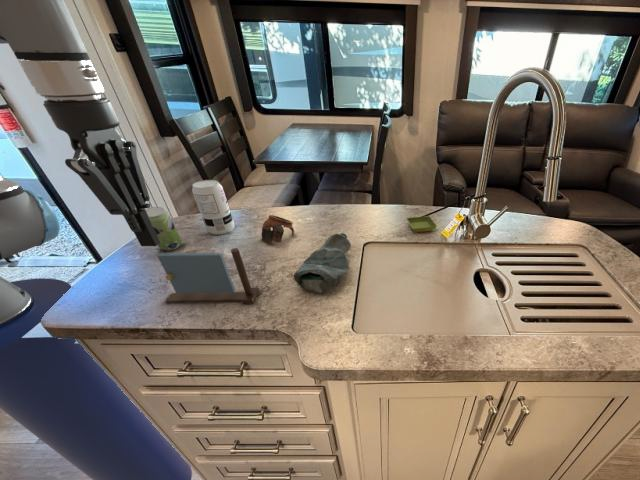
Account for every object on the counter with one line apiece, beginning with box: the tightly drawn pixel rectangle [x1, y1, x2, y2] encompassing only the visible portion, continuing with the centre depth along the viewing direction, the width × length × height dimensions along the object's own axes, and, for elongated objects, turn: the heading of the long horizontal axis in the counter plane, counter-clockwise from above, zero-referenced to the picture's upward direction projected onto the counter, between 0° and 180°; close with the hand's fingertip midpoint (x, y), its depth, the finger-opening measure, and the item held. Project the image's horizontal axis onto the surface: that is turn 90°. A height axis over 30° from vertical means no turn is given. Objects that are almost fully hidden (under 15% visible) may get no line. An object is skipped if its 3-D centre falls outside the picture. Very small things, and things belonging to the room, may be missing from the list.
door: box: [157, 252, 236, 293], centre depth 71 cm, size 13×2×10 cm, turn 94°
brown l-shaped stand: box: [165, 247, 260, 305], centre depth 72 cm, size 20×5×13 cm, turn 94°
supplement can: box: [191, 179, 235, 236], centre depth 100 cm, size 8×8×15 cm
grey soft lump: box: [293, 233, 352, 294], centre depth 85 cm, size 13×7×25 cm
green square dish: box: [406, 215, 438, 233], centre depth 109 cm, size 9×9×2 cm
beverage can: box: [145, 206, 183, 251], centre depth 91 cm, size 6×7×12 cm
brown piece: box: [261, 214, 295, 245], centre depth 99 cm, size 12×10×8 cm
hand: (151, 244), depth 60 cm, fingers closed
